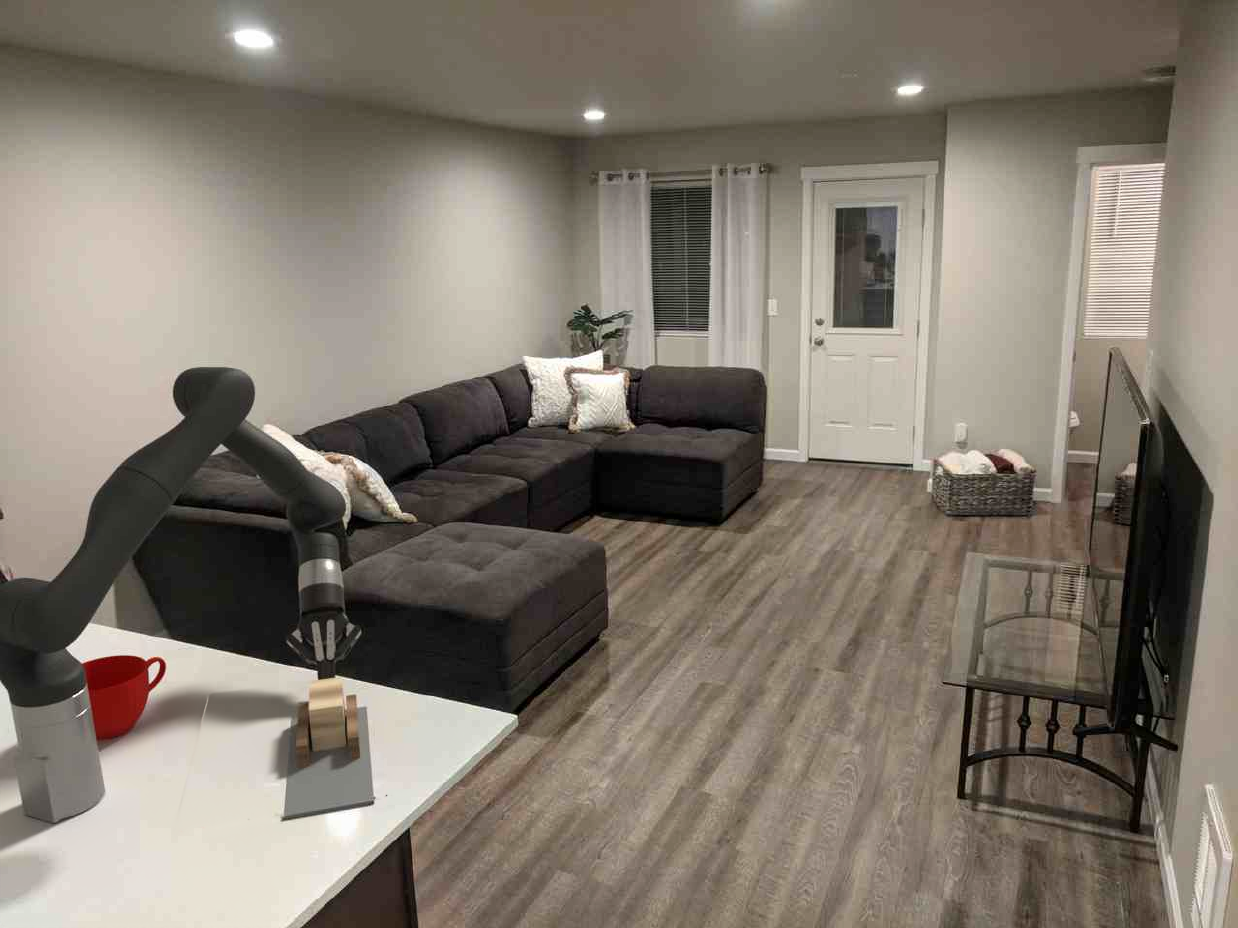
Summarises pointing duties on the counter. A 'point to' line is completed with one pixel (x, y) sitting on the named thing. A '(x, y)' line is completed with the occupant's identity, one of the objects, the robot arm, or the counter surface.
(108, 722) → the ceramic cup
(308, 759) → the chute rails
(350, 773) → the chute board
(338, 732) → the oak block
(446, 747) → the counter surface
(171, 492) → the robot arm
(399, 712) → the counter surface
